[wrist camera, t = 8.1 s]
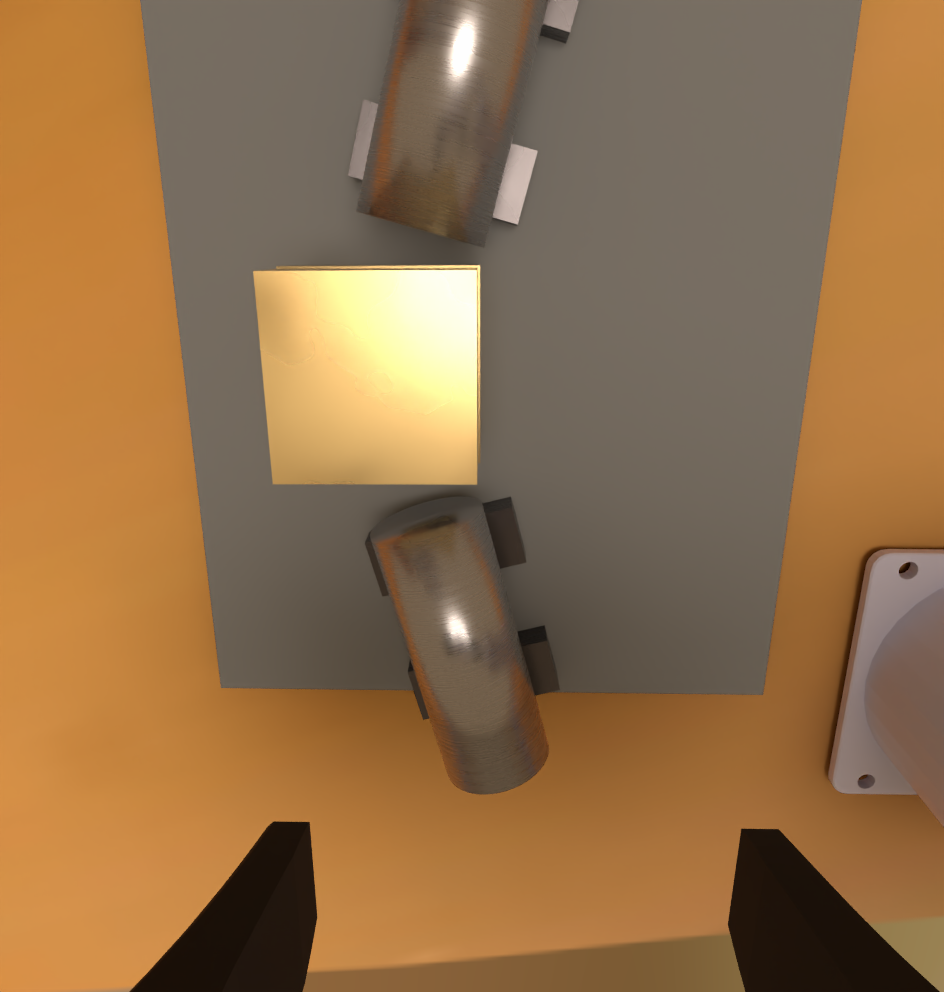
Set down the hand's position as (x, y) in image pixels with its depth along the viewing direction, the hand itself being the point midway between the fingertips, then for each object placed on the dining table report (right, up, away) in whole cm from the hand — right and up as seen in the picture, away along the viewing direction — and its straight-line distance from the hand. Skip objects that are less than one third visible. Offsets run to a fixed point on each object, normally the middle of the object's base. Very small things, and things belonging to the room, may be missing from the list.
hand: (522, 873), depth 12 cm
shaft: (-1, +16, +5) cm, 17 cm away
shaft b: (-1, +3, +9) cm, 10 cm away
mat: (0, +11, +7) cm, 13 cm away
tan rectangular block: (-3, +10, +7) cm, 12 cm away
